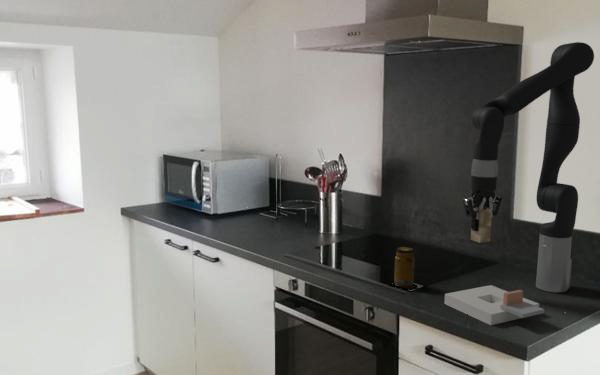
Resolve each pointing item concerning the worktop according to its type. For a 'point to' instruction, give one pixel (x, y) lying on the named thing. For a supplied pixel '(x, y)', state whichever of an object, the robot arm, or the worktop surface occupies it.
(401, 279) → the condiment
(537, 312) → the brown block on tile
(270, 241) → the worktop surface
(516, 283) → the worktop surface
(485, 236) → the peg
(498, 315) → the socket plate
